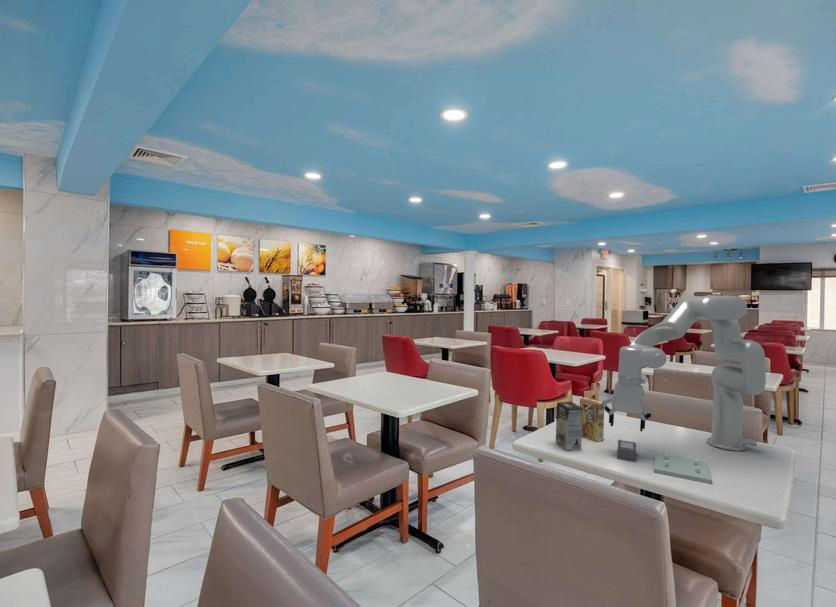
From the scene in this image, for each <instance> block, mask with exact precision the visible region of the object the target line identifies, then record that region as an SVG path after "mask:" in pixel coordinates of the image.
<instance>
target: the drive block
mask: <svg viewBox="0 0 836 607" xmlns="http://www.w3.org/2000/svg"><path fill="white" fill-rule="evenodd" d="M616 455H617V456H616V459H617V460H621V461H628V462H631V461H632V463H637V443H636V442H633V441H628V440H627V441H626V440H621V439H618V440H617V454H616Z"/></svg>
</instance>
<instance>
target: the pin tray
mask: <svg viewBox="0 0 836 607" xmlns="http://www.w3.org/2000/svg"><path fill="white" fill-rule="evenodd" d="M653 473H656V474H660V475H666V476H670V477H676V478H679V479H685V480H690V481H694V482H695V481H696V482H699V483H706V484H710V485H712V484H713V479H712V478H713V477H712V475H711V473H712V472H711V470H710V466H709V462H705V461H701V460H699V458H697V457H696V458H694V459H690V458H686V457H684V458H683V457H680V456H675V455H674V456H673V455H669V453H667V452H664V454H663V453H662V454H661V453H658V452H655V453H654V466H653Z"/></svg>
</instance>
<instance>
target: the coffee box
mask: <svg viewBox="0 0 836 607" xmlns="http://www.w3.org/2000/svg"><path fill="white" fill-rule="evenodd" d="M556 404H557V405H556V424H555V425H556V427H555V429H556V430H555V443H556V444H558V446H560V447H561V448H562V447H563V448H564V450H565V451H566V450H576V451H582V442H583V441H582V439H583V438H582V437H583V436H582V419H583V408H581V407H580V405H578V404H576V403H574V402H572V401H560V402H558V401H557V402H556Z"/></svg>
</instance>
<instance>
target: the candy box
mask: <svg viewBox="0 0 836 607" xmlns="http://www.w3.org/2000/svg"><path fill="white" fill-rule="evenodd" d="M579 406H580V407H581V408H583V419H582V437H583V438H586V439H589V440H592V441H595V442H601V441H603V440H604V435H605V434H604V430H605V429H604V427H605V425H604V424H605V409H604V406H603V404H602V401H600V400H597V399H593V398H589V397H582V398H579Z"/></svg>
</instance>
